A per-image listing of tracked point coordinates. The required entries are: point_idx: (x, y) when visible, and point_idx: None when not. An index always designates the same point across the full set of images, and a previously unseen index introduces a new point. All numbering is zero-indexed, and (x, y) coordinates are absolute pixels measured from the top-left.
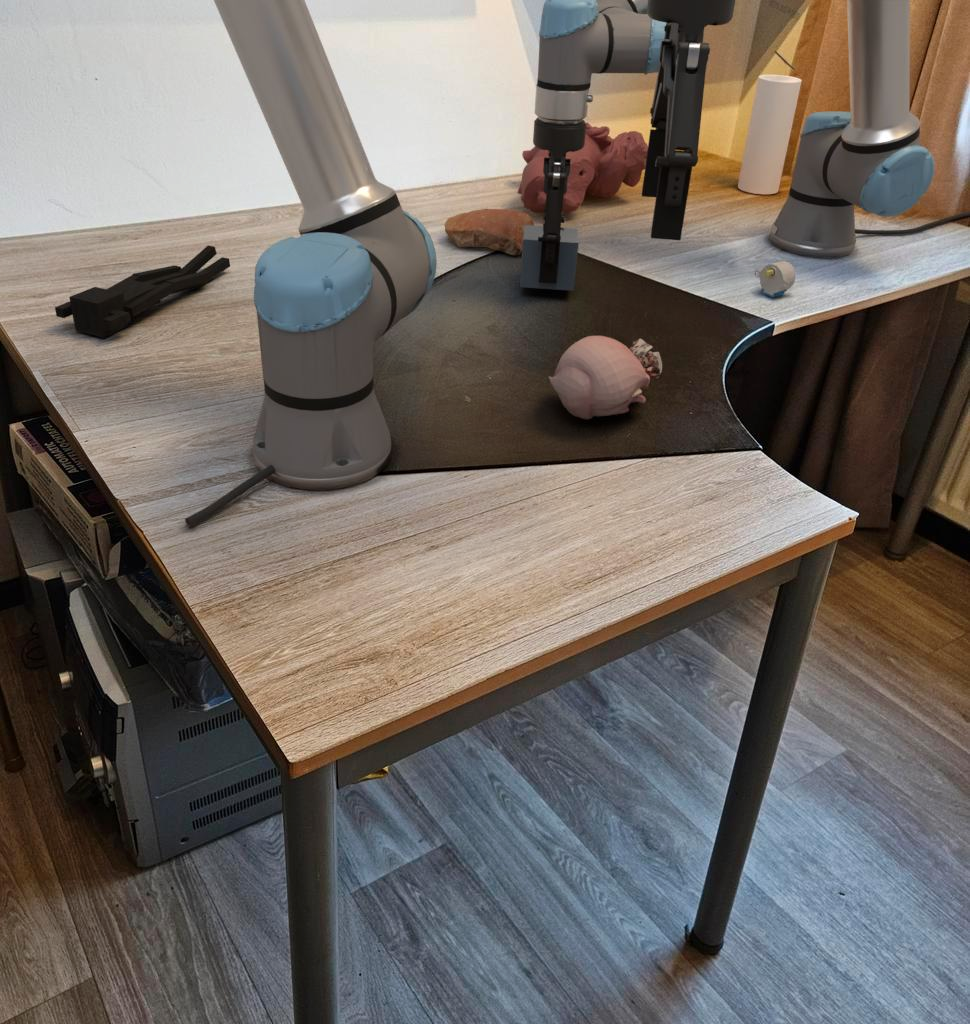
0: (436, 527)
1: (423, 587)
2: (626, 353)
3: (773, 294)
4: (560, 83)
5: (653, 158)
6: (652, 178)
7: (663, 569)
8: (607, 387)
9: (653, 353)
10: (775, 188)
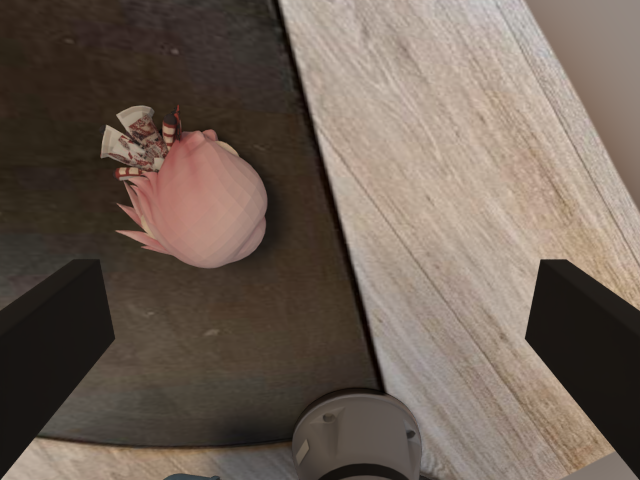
0: (471, 337)
1: None
2: (209, 184)
3: None
4: None
5: (27, 413)
6: (75, 352)
7: (547, 124)
8: (264, 201)
9: (124, 123)
10: None
